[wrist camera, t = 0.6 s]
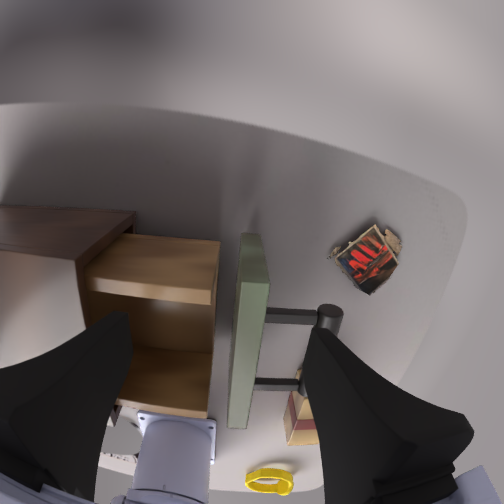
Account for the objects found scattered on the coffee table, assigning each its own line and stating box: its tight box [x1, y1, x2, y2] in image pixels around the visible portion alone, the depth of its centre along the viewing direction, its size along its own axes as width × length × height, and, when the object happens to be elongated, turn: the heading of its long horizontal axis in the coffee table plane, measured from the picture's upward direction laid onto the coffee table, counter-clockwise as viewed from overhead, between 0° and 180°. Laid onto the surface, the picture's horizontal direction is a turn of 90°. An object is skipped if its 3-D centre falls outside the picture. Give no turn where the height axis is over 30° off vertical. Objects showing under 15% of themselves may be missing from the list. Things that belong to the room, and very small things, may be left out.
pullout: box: [83, 233, 344, 429], centre depth 17 cm, size 17×10×7 cm, turn 84°
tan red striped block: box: [284, 369, 319, 446], centre depth 24 cm, size 7×3×4 cm, turn 174°
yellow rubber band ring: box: [245, 468, 294, 495], centre depth 30 cm, size 6×3×6 cm
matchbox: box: [327, 225, 402, 295], centre depth 20 cm, size 5×5×1 cm
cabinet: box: [0, 205, 136, 427], centre depth 16 cm, size 13×11×8 cm
